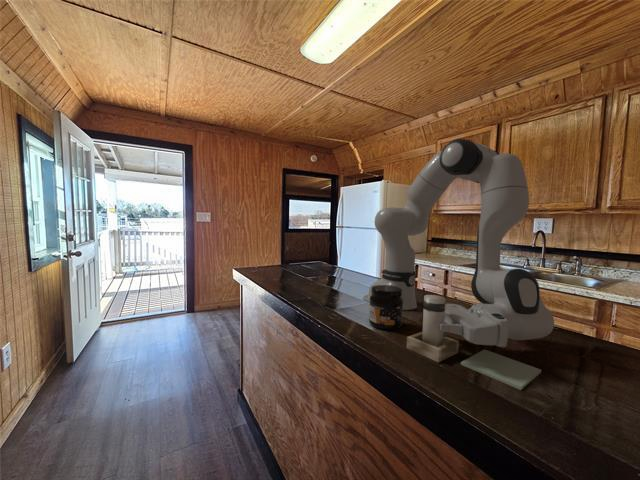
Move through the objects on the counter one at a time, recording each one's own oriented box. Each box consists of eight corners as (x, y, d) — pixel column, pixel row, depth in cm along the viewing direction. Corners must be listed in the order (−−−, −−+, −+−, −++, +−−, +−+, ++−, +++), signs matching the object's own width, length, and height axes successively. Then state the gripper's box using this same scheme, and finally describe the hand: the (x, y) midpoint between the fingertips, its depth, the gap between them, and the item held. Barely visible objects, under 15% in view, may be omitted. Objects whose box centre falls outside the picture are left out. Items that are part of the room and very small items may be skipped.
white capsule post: (417, 349, 73) (419, 296, 72) (428, 344, 76) (431, 293, 75) (435, 357, 68) (438, 301, 68) (446, 351, 71) (449, 298, 71)
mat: (460, 364, 65) (460, 362, 65) (484, 351, 72) (484, 349, 72) (520, 390, 55) (521, 387, 55) (541, 372, 62) (541, 369, 62)
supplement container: (364, 327, 87) (365, 289, 87) (373, 317, 97) (374, 283, 96) (398, 333, 83) (400, 293, 82) (404, 322, 92) (406, 287, 91)
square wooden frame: (406, 348, 73) (407, 336, 73) (426, 340, 78) (426, 329, 78) (438, 362, 66) (439, 350, 66) (458, 352, 71) (458, 341, 71)
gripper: (463, 298, 82) (417, 297, 82) (512, 323, 62) (451, 322, 61) (462, 319, 82) (416, 318, 82) (510, 350, 62) (449, 349, 62)
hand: (431, 320), depth 72 cm, fingers open, 8 cm apart
